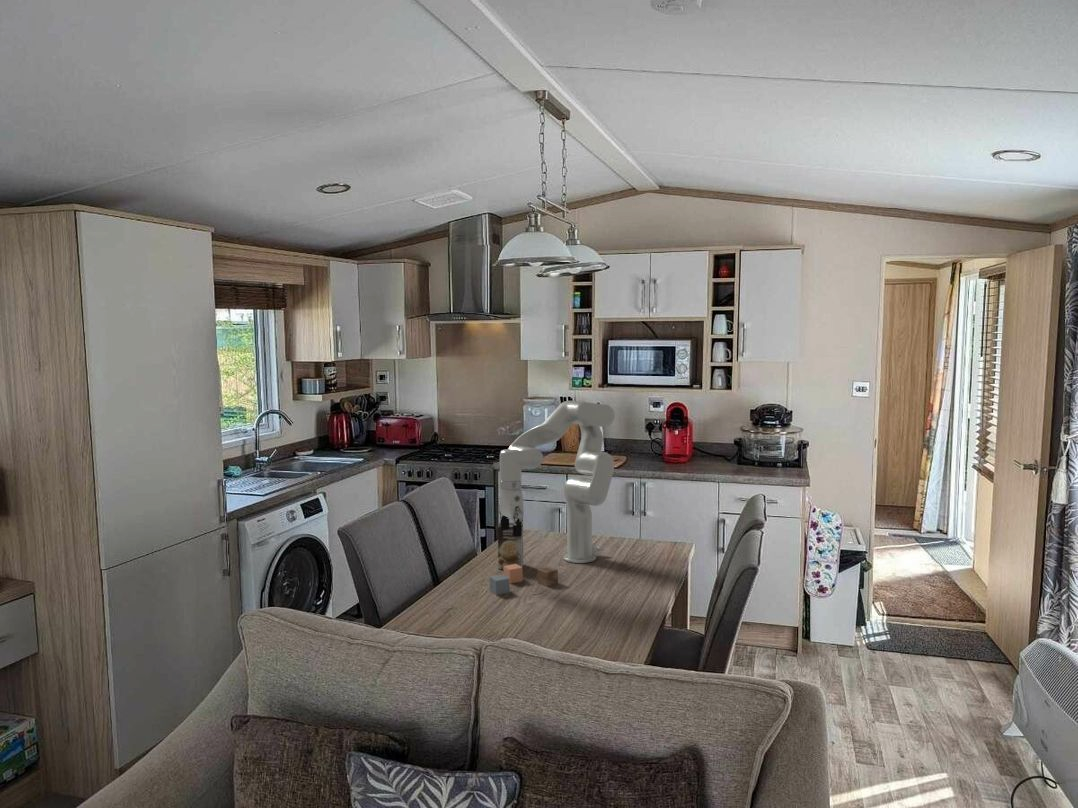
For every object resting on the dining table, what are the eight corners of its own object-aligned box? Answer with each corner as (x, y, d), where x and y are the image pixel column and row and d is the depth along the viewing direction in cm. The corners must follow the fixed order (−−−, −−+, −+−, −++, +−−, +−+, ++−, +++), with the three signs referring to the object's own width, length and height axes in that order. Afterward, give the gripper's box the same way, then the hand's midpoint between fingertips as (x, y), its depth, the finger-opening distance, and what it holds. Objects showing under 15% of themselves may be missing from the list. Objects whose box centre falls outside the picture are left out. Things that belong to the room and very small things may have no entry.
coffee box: (497, 569, 278) (496, 526, 276) (500, 564, 284) (499, 522, 283) (522, 569, 277) (521, 527, 275) (524, 564, 283) (523, 522, 282)
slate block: (503, 588, 258) (502, 574, 257) (509, 592, 253) (509, 578, 253) (489, 591, 255) (489, 576, 255) (496, 595, 251) (495, 580, 250)
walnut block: (548, 580, 265) (548, 566, 265) (557, 583, 261) (557, 569, 261) (537, 583, 262) (537, 569, 262) (546, 586, 258) (546, 572, 258)
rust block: (516, 577, 269) (516, 563, 268) (522, 581, 264) (522, 567, 264) (503, 579, 266) (503, 566, 266) (509, 583, 262) (509, 569, 262)
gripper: (531, 488, 256) (531, 537, 258) (509, 479, 271) (509, 526, 273) (511, 490, 253) (512, 540, 254) (490, 481, 268) (490, 529, 269)
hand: (510, 533), depth 263 cm, fingers open, 9 cm apart
